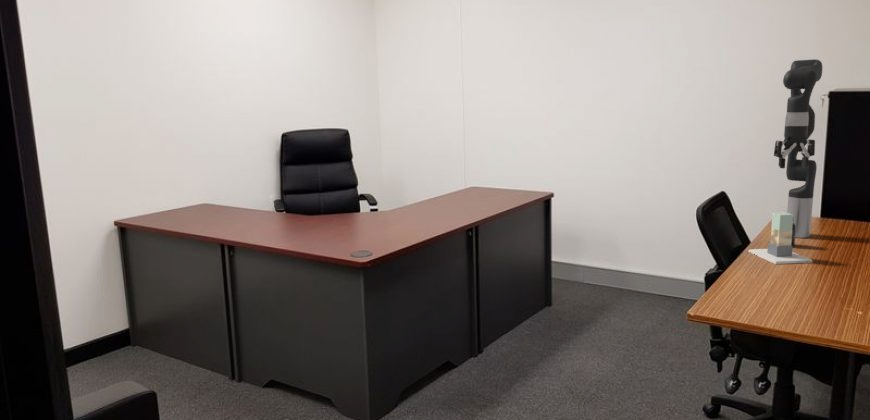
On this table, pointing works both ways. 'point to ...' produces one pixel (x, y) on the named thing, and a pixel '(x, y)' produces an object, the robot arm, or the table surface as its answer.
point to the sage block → (782, 221)
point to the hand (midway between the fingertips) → (793, 167)
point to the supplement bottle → (793, 233)
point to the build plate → (781, 259)
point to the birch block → (781, 237)
